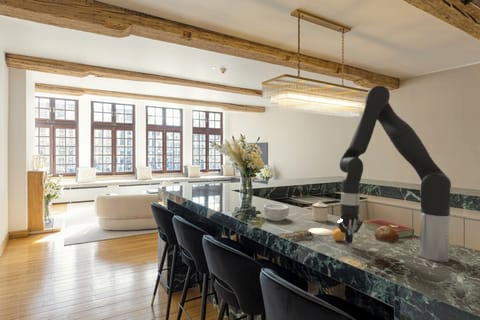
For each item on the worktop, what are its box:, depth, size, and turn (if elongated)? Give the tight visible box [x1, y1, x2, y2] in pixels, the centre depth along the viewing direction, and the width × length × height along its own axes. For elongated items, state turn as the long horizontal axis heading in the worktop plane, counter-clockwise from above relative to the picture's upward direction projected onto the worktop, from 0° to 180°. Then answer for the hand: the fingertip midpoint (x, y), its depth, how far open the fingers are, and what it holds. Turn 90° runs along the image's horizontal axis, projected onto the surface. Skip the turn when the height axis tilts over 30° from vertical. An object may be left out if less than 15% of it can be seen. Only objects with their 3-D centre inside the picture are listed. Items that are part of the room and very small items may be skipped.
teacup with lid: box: [311, 200, 329, 223], centre depth 171 cm, size 12×9×12 cm
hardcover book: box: [362, 219, 415, 238], centre depth 148 cm, size 12×21×4 cm, turn 23°
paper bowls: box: [263, 203, 290, 222], centre depth 171 cm, size 15×15×8 cm
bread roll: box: [374, 226, 401, 243], centre depth 134 cm, size 10×10×8 cm
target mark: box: [308, 227, 334, 236], centre depth 145 cm, size 13×13×1 cm
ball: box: [331, 228, 345, 242], centre depth 130 cm, size 6×6×6 cm
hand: (348, 242), depth 123 cm, fingers closed
